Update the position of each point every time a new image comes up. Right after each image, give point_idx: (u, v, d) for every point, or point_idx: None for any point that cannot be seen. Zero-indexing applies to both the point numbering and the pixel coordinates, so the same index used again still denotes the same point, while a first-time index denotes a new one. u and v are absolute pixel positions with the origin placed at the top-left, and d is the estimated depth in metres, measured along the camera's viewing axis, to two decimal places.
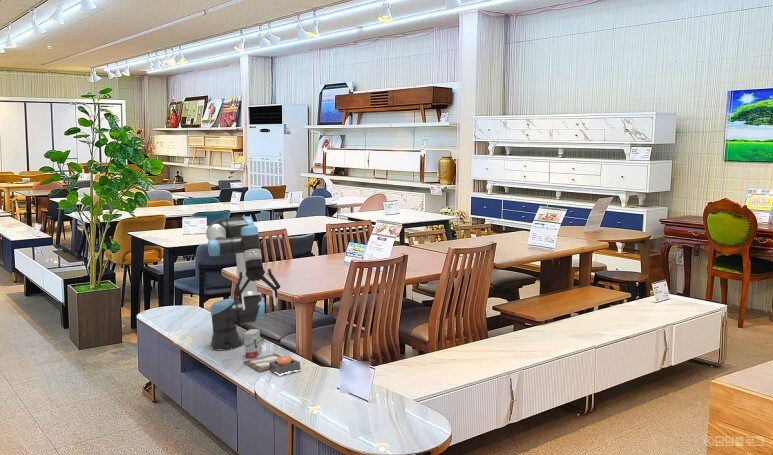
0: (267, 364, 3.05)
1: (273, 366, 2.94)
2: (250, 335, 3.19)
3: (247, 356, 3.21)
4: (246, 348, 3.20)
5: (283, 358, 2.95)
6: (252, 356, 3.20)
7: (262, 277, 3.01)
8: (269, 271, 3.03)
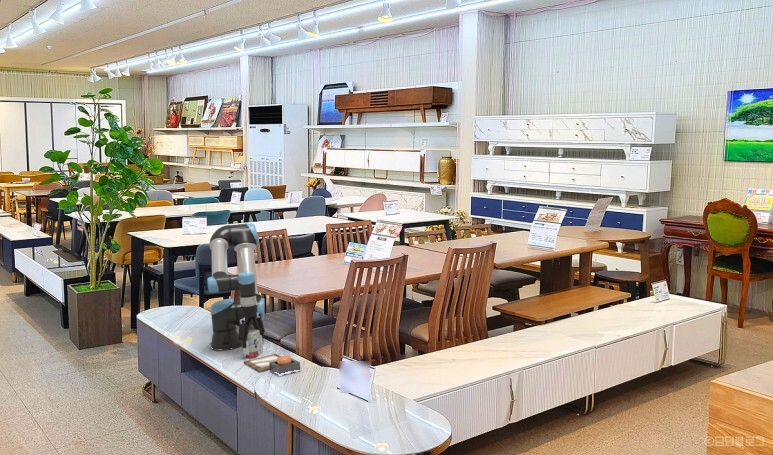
0: (267, 364, 3.05)
1: (273, 366, 2.94)
2: (250, 335, 3.19)
3: (247, 356, 3.21)
4: None
5: (283, 358, 2.95)
6: (252, 356, 3.20)
7: (256, 322, 3.24)
8: (260, 316, 3.27)
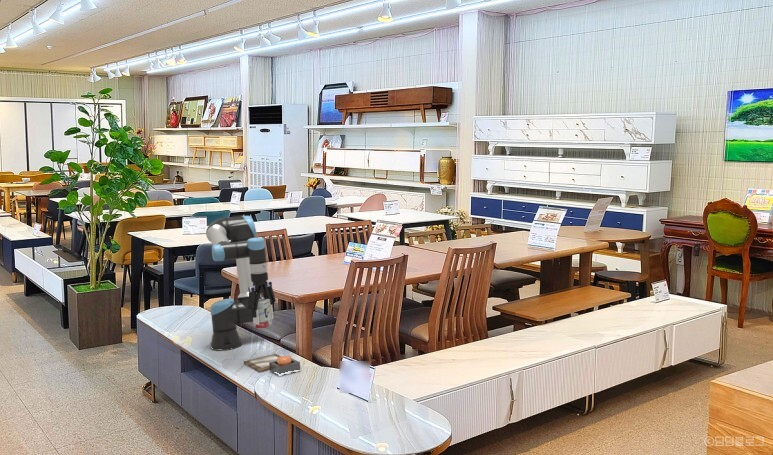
0: (267, 364, 3.05)
1: (273, 366, 2.94)
2: (260, 304, 3.02)
3: (257, 326, 3.04)
4: None
5: (283, 358, 2.95)
6: (262, 326, 3.03)
7: (266, 290, 3.07)
8: (270, 284, 3.11)
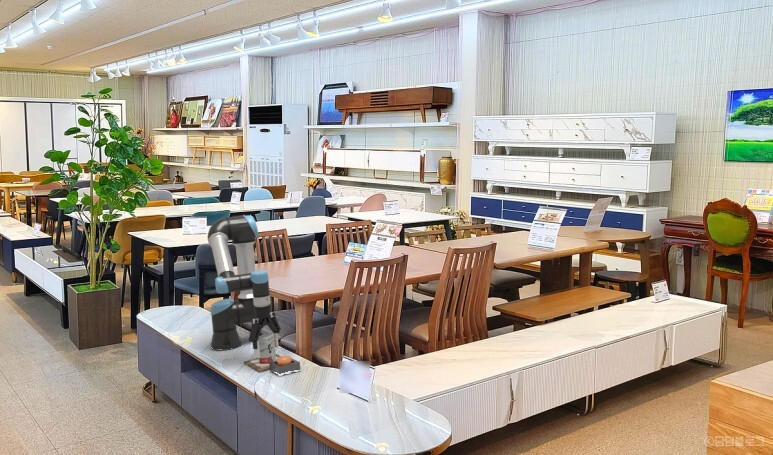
0: (267, 364, 3.05)
1: (273, 366, 2.94)
2: (264, 340, 3.04)
3: (261, 362, 3.06)
4: (260, 353, 3.06)
5: (283, 358, 2.95)
6: (266, 362, 3.05)
7: (270, 322, 3.09)
8: (274, 315, 3.12)
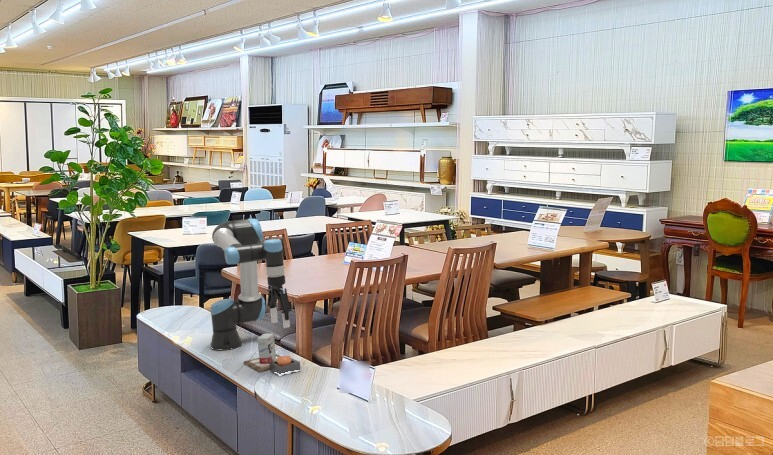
0: (267, 364, 3.05)
1: (273, 366, 2.94)
2: (264, 340, 3.04)
3: (261, 362, 3.06)
4: (260, 353, 3.06)
5: (283, 358, 2.95)
6: (266, 362, 3.05)
7: None
8: None
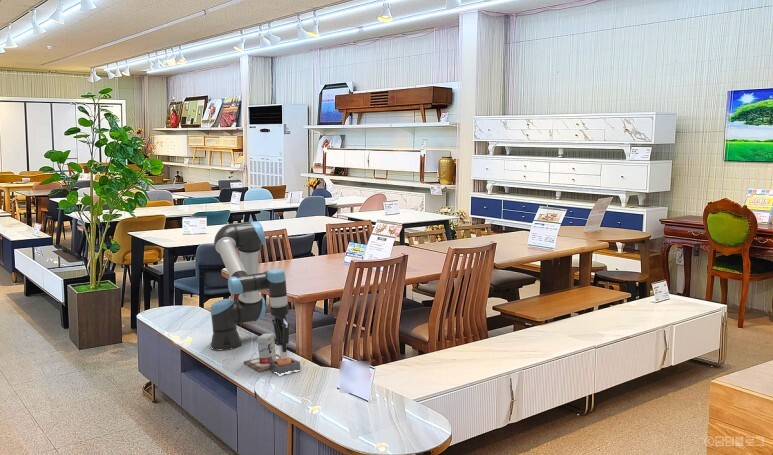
0: (267, 364, 3.05)
1: (273, 366, 2.94)
2: (264, 340, 3.04)
3: (261, 362, 3.06)
4: (260, 353, 3.06)
5: (283, 359, 2.96)
6: (266, 362, 3.05)
7: None
8: None
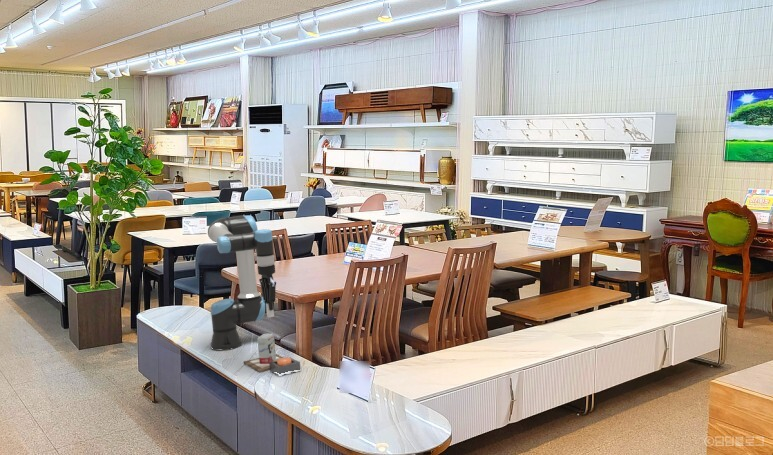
0: (267, 364, 3.05)
1: (273, 366, 2.94)
2: (264, 340, 3.04)
3: (261, 362, 3.06)
4: (260, 353, 3.06)
5: (283, 360, 2.96)
6: (266, 362, 3.05)
7: None
8: None
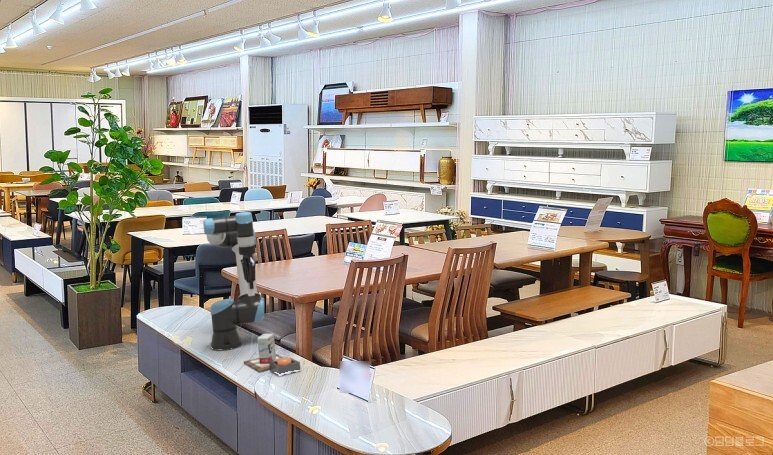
0: (267, 364, 3.05)
1: (273, 366, 2.94)
2: (264, 340, 3.04)
3: (261, 362, 3.06)
4: (260, 353, 3.06)
5: (283, 360, 2.96)
6: (266, 362, 3.05)
7: None
8: None
